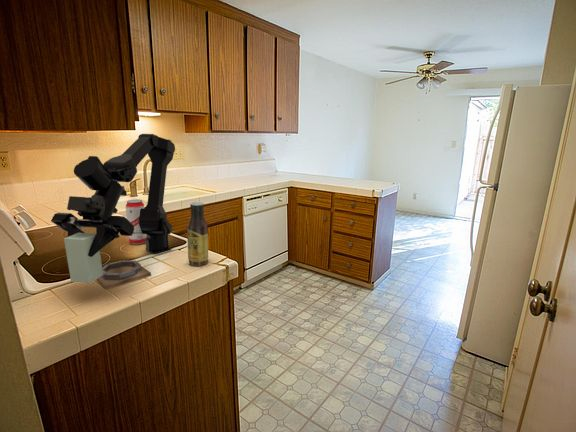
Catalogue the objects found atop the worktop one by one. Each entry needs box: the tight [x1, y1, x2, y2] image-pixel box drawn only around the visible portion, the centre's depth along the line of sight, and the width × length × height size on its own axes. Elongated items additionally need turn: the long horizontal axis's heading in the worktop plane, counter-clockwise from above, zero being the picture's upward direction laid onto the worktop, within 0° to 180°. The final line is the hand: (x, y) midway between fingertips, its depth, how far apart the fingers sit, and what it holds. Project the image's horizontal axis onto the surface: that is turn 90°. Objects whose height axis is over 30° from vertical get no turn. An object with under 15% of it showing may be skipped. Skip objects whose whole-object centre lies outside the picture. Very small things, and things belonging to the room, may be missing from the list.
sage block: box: [63, 232, 103, 284], centre depth 76 cm, size 4×5×11 cm
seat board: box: [95, 265, 152, 290], centre depth 91 cm, size 12×12×1 cm
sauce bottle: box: [186, 201, 209, 267], centre depth 98 cm, size 6×6×20 cm
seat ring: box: [101, 259, 142, 280], centre depth 90 cm, size 10×10×2 cm
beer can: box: [125, 199, 147, 246], centre depth 115 cm, size 6×6×16 cm
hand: (79, 255), depth 74 cm, fingers closed on sage block, 5 cm apart
